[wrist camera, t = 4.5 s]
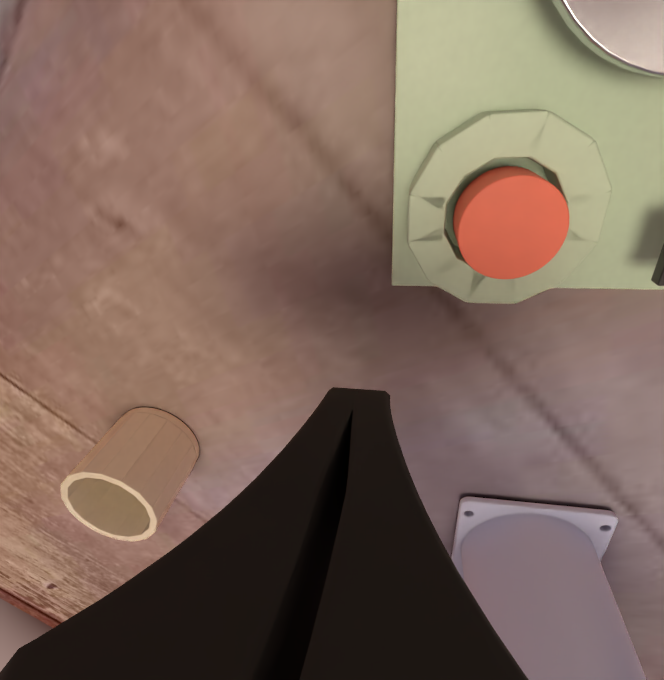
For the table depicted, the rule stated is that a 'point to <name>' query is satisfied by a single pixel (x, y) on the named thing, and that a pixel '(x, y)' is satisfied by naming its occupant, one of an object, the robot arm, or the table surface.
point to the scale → (522, 145)
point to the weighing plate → (622, 42)
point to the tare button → (510, 222)
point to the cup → (132, 475)
